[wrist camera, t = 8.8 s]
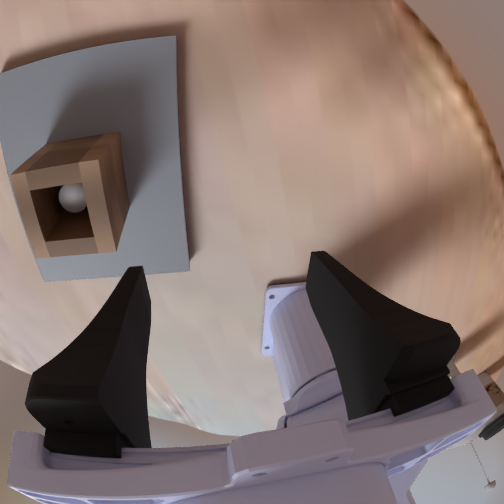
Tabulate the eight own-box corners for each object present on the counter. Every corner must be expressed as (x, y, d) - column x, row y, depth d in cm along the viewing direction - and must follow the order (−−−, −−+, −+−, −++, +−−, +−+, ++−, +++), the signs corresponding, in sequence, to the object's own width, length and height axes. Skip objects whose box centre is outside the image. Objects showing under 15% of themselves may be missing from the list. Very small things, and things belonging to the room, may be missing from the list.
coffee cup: (499, 360, 56) (528, 406, 44) (477, 387, 63) (501, 430, 51) (471, 374, 55) (500, 426, 43) (448, 401, 61) (472, 449, 49)
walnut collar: (129, 206, 20) (116, 252, 16) (61, 214, 19) (35, 258, 15) (119, 131, 17) (98, 159, 13) (45, 144, 16) (9, 175, 12)
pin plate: (189, 261, 24) (191, 299, 21) (48, 272, 23) (33, 308, 19) (176, 36, 15) (172, 32, 12) (0, 74, 13) (-35, 85, 10)
